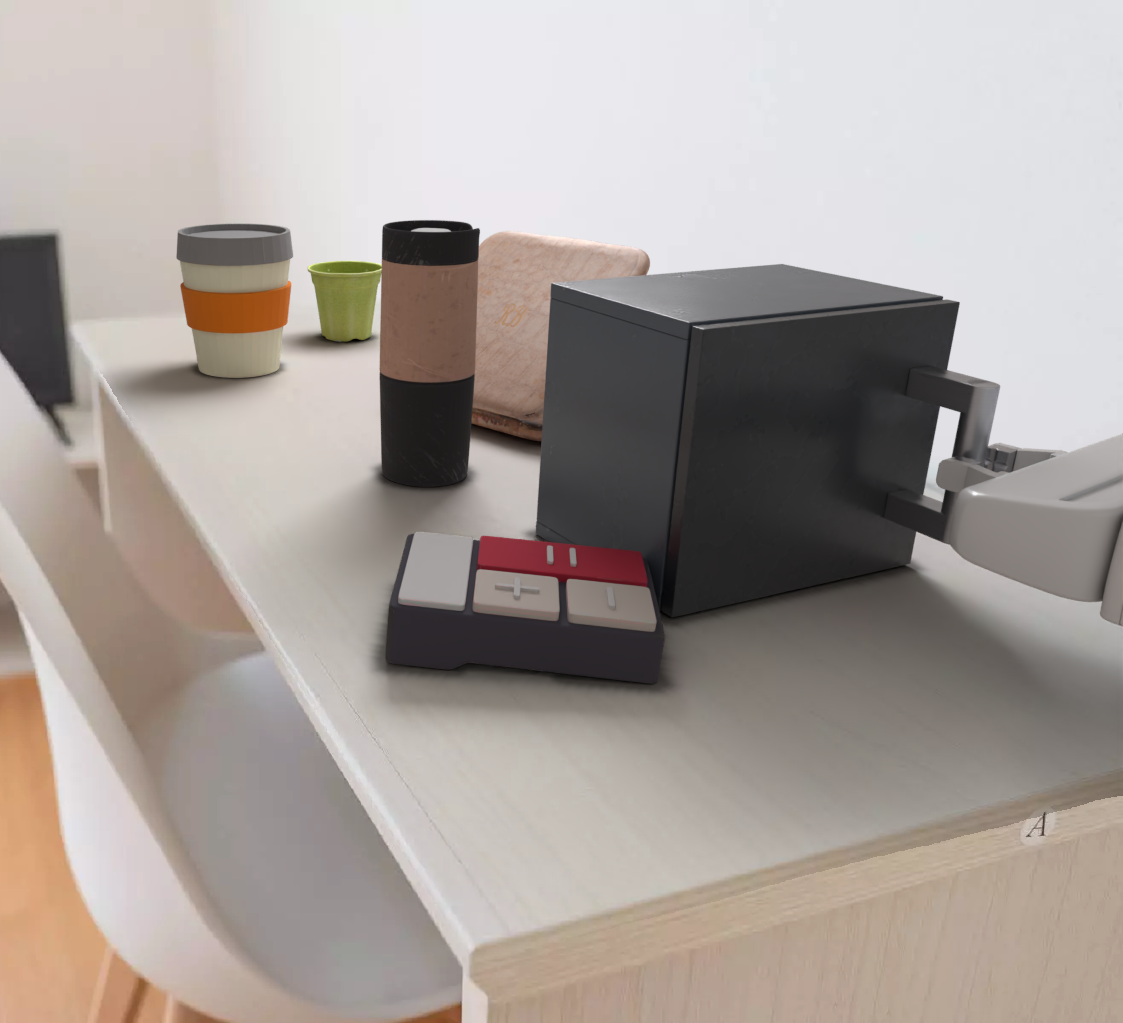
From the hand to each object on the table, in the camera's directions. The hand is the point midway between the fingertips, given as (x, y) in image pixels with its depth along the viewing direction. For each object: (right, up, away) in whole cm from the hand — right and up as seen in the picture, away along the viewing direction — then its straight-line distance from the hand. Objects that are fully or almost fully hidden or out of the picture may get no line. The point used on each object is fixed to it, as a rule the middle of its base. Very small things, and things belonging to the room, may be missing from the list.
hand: (964, 463), depth 70 cm
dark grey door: (-8, -9, +2) cm, 12 cm away
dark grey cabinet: (-12, -5, +11) cm, 17 cm away
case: (-20, +7, +44) cm, 49 cm away
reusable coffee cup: (-50, +13, +59) cm, 78 cm away
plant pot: (-38, +19, +74) cm, 85 cm away
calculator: (-27, -10, -1) cm, 29 cm away
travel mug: (-31, 0, +26) cm, 40 cm away
